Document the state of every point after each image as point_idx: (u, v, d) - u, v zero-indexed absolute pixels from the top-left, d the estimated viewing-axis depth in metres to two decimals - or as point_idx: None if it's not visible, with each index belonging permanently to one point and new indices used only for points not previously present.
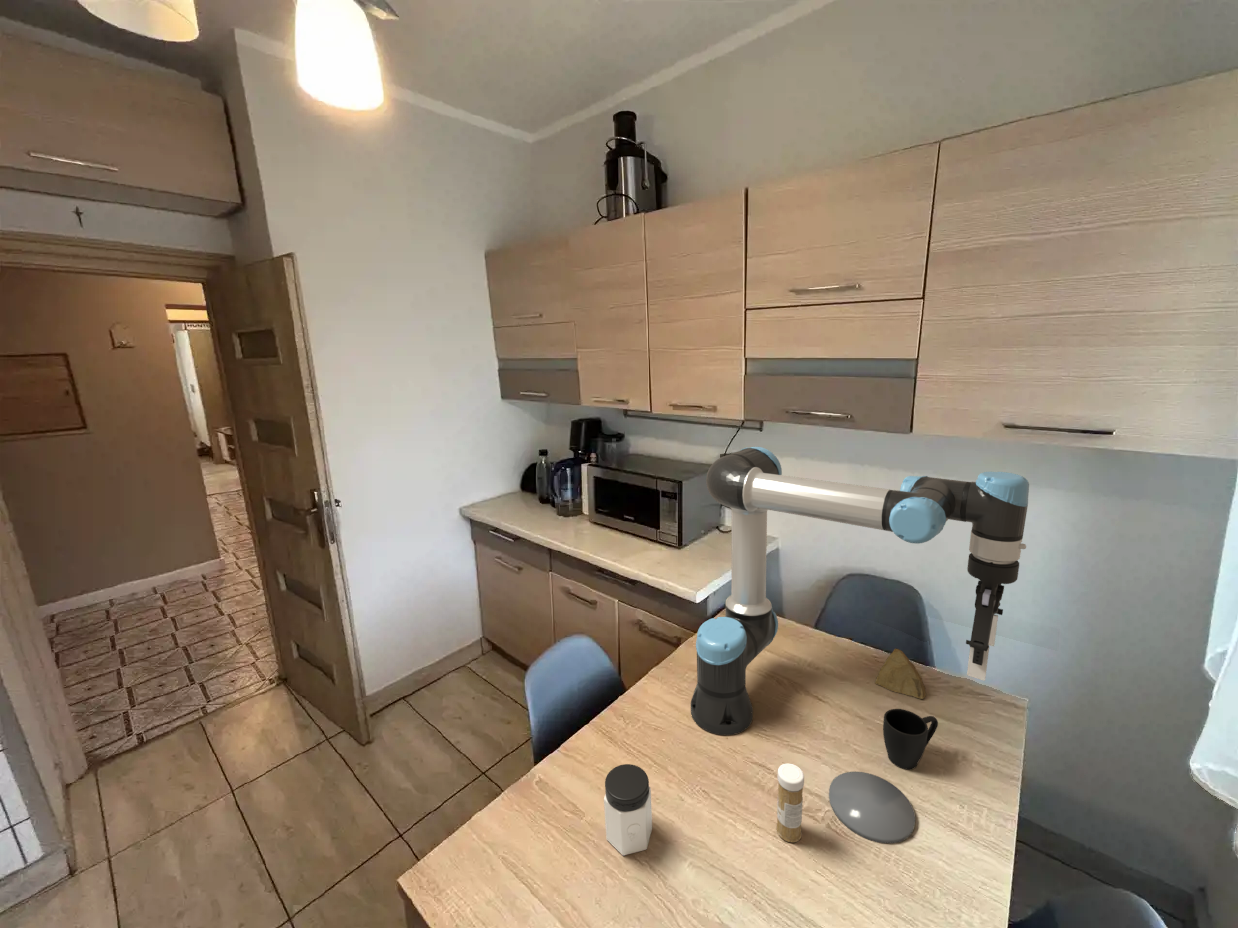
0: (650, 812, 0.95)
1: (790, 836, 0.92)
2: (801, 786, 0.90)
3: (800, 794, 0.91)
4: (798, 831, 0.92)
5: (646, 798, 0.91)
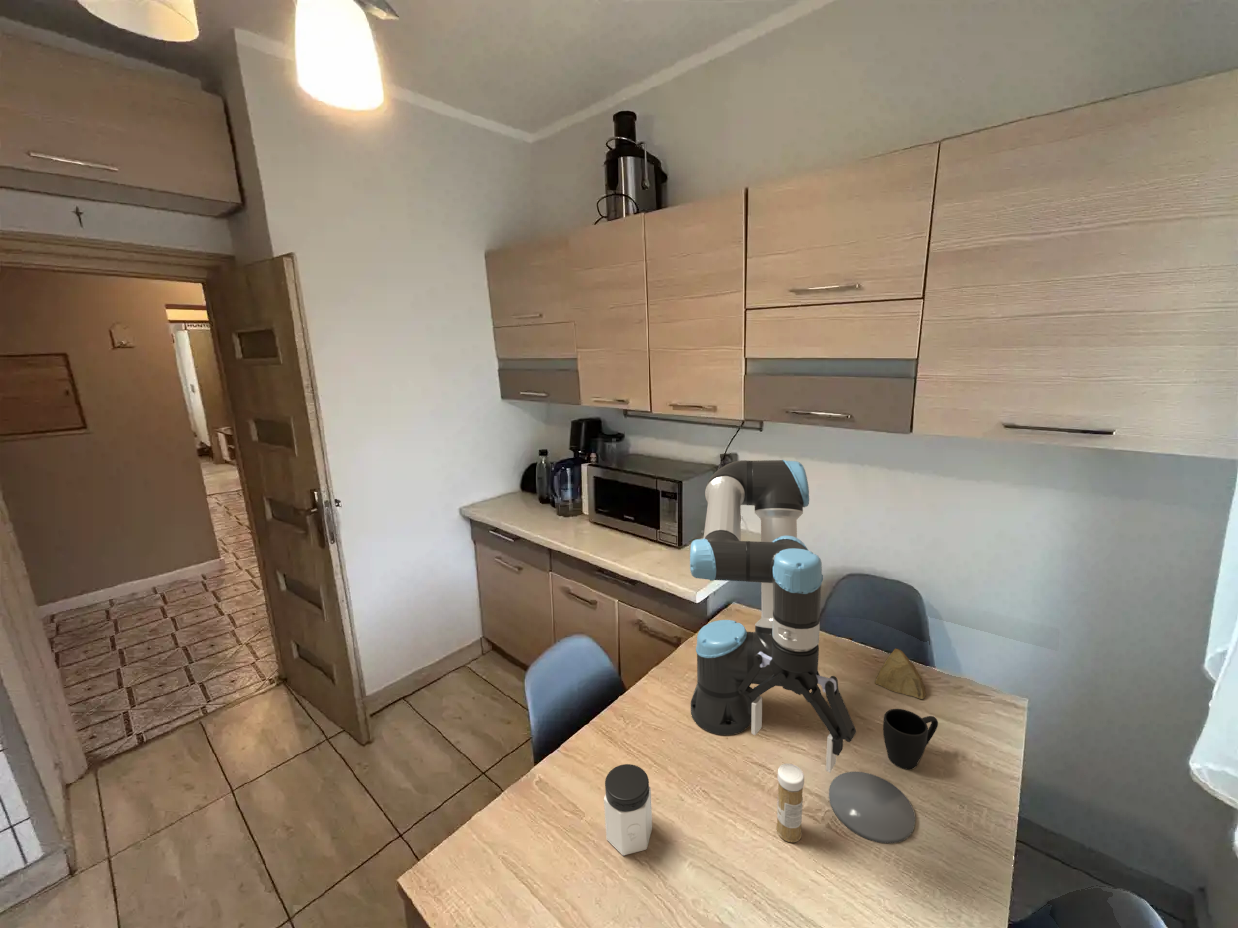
0: (650, 812, 0.95)
1: (790, 836, 0.92)
2: (801, 786, 0.90)
3: (800, 794, 0.91)
4: (798, 831, 0.92)
5: (646, 798, 0.91)
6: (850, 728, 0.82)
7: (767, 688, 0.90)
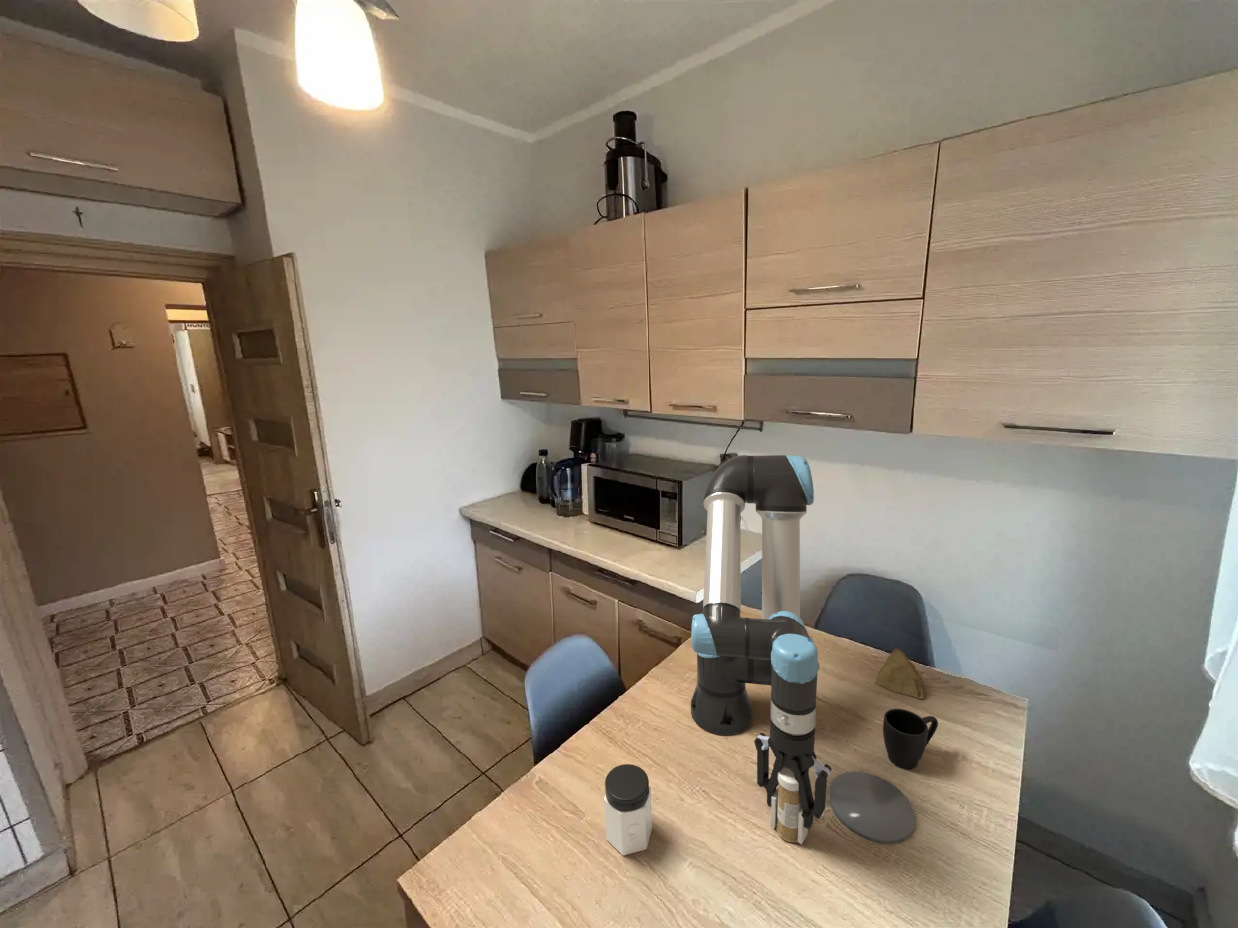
0: (650, 812, 0.95)
1: (790, 836, 0.92)
2: None
3: None
4: None
5: (646, 798, 0.91)
6: (822, 808, 0.88)
7: (777, 774, 0.92)
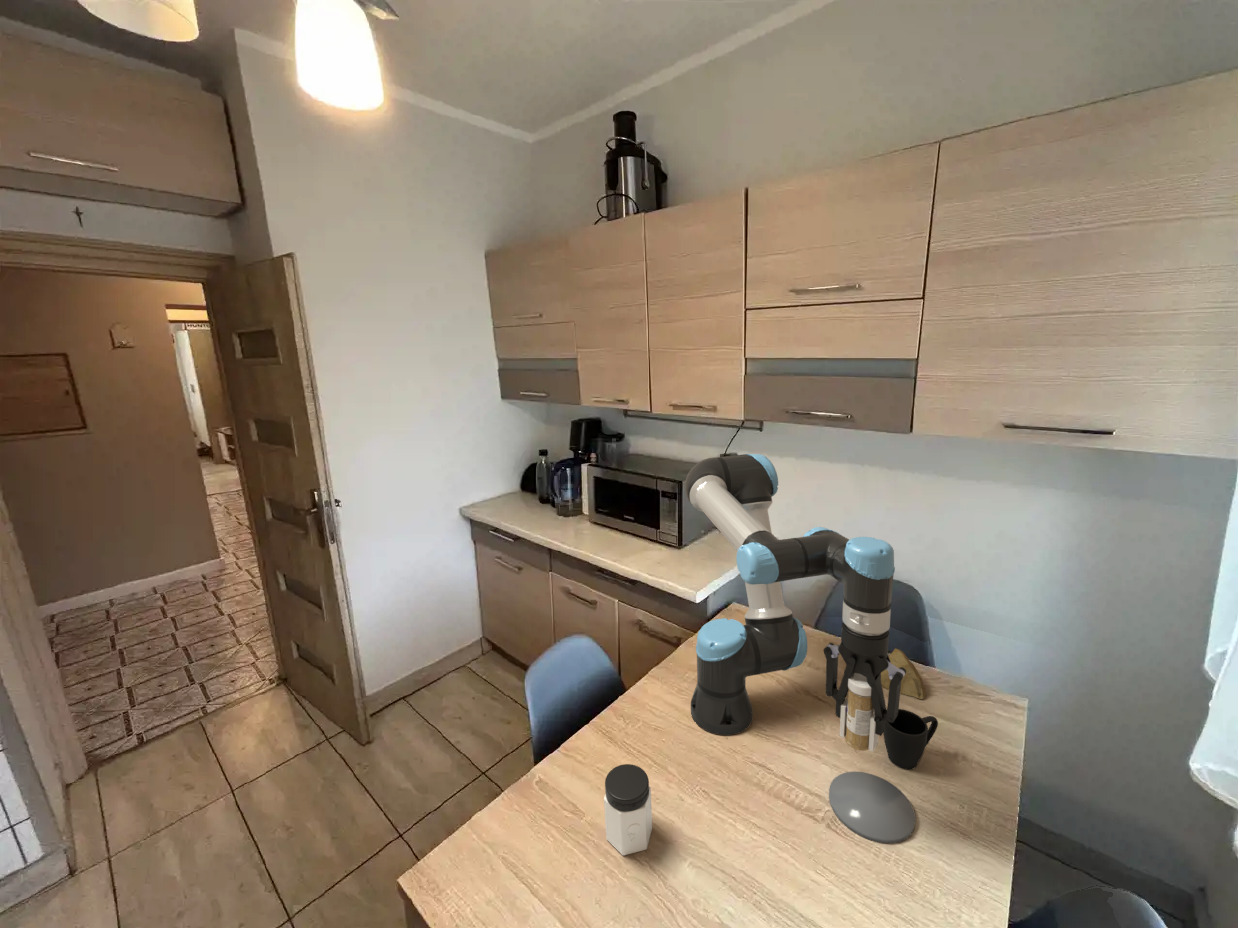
0: (650, 812, 0.95)
1: (860, 744, 0.92)
2: None
3: None
4: None
5: (646, 798, 0.91)
6: (896, 712, 0.88)
7: (847, 681, 0.92)
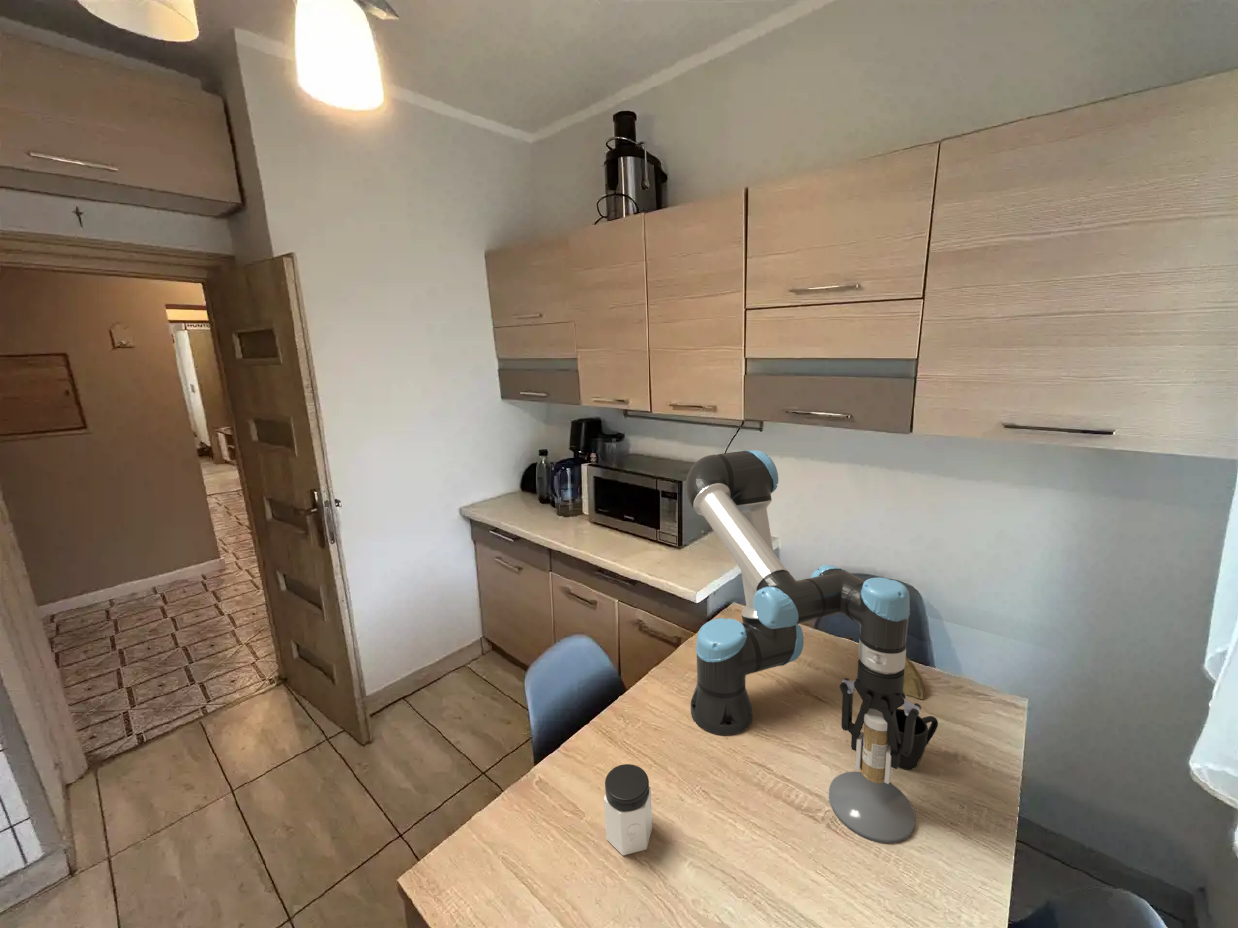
0: (650, 812, 0.95)
1: (877, 777, 0.95)
2: None
3: None
4: None
5: (646, 798, 0.91)
6: (911, 746, 0.91)
7: (863, 716, 0.95)
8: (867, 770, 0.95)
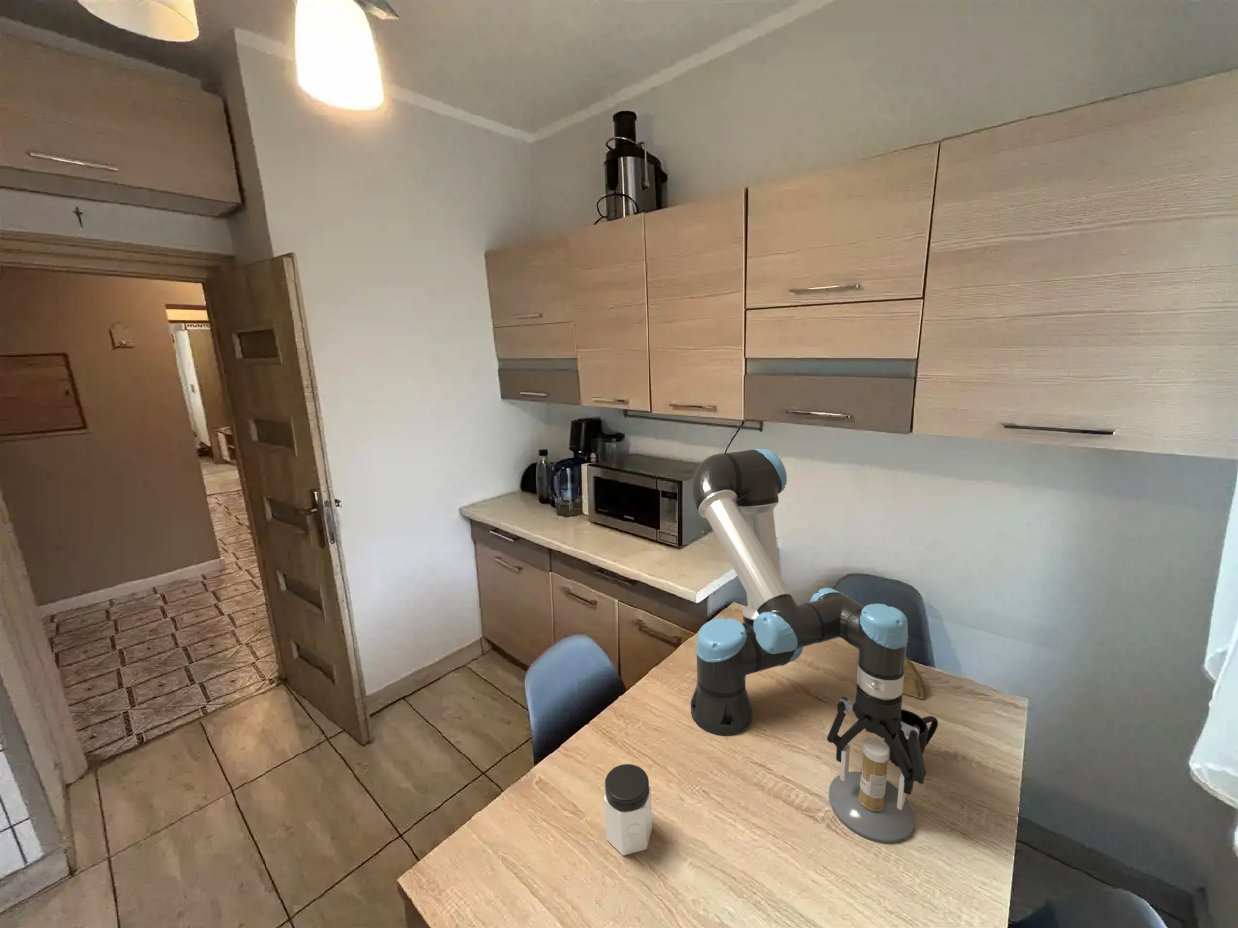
0: (650, 812, 0.95)
1: (874, 806, 0.96)
2: (888, 758, 0.94)
3: (886, 766, 0.94)
4: (882, 801, 0.96)
5: (646, 798, 0.91)
6: (923, 772, 0.90)
7: (854, 734, 0.97)
8: (865, 799, 0.97)
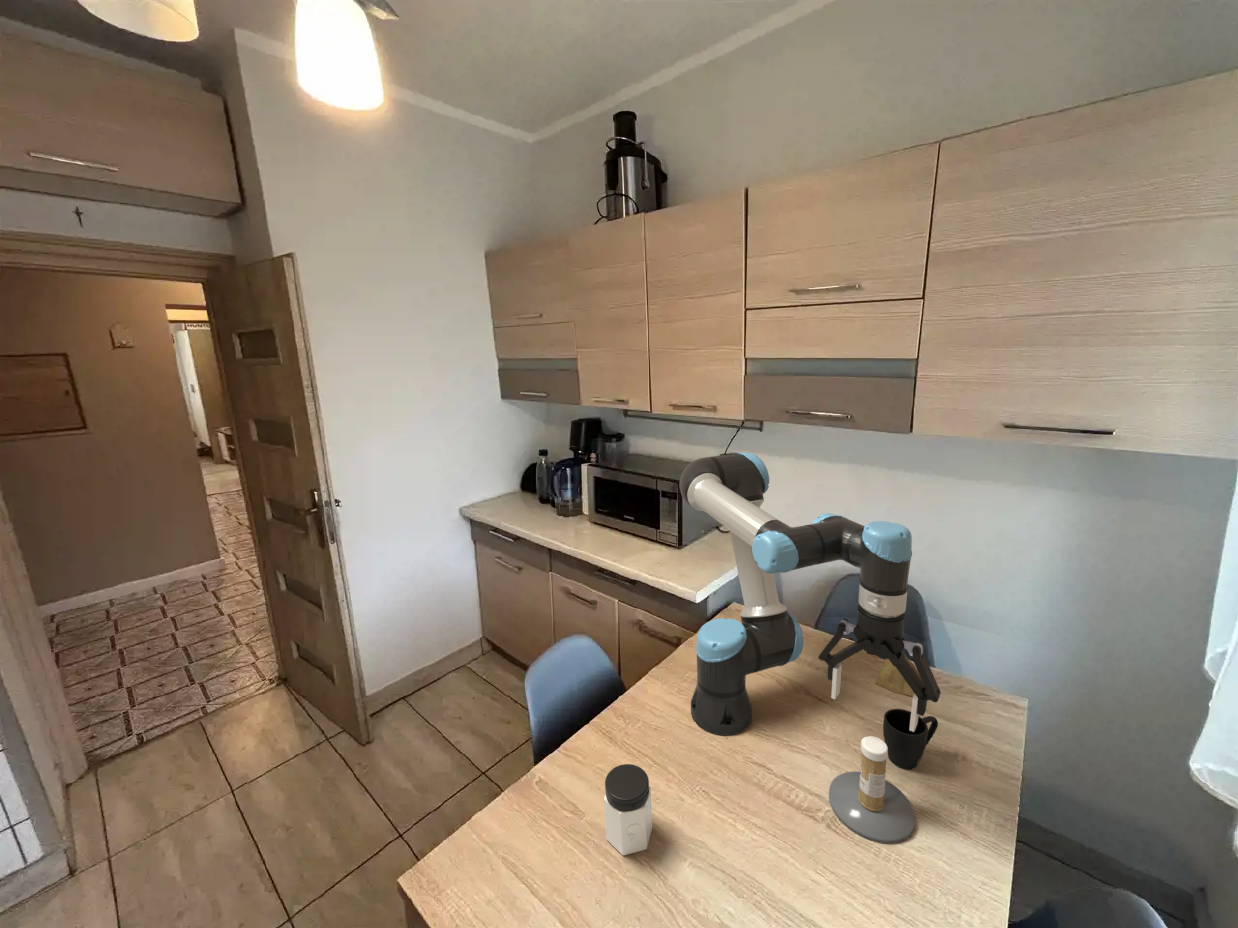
0: (650, 812, 0.95)
1: (874, 805, 0.96)
2: (886, 757, 0.94)
3: (884, 764, 0.95)
4: (882, 800, 0.96)
5: (646, 798, 0.91)
6: (936, 689, 0.87)
7: (850, 654, 0.95)
8: (864, 799, 0.97)
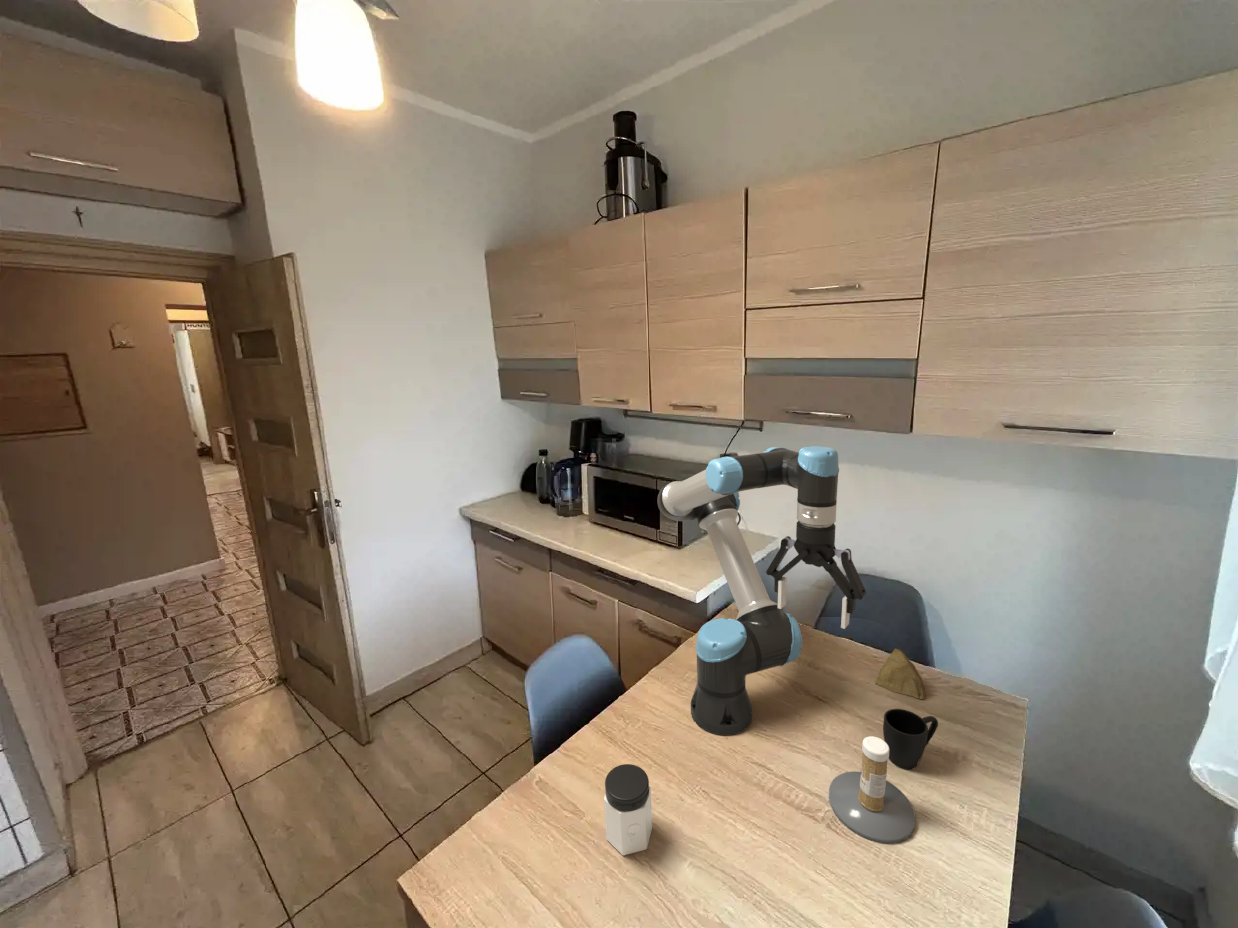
0: (650, 812, 0.95)
1: (874, 806, 0.96)
2: (887, 757, 0.94)
3: (885, 765, 0.95)
4: (882, 801, 0.96)
5: (646, 798, 0.91)
6: (861, 589, 1.00)
7: (792, 566, 1.08)
8: (865, 799, 0.97)
